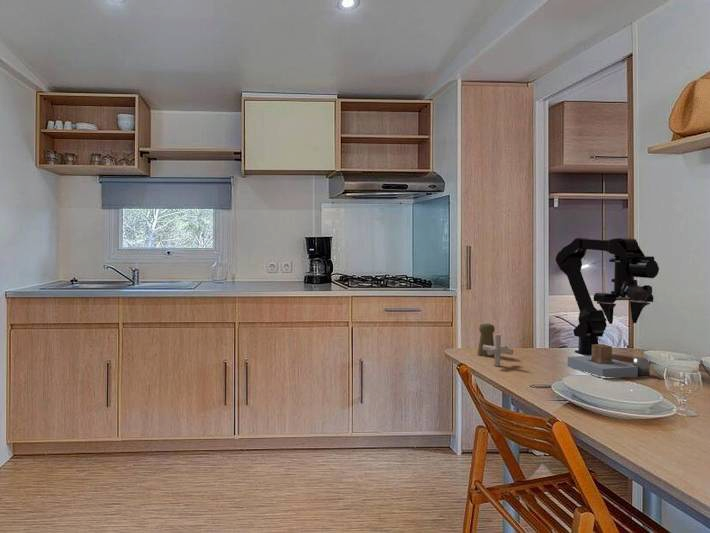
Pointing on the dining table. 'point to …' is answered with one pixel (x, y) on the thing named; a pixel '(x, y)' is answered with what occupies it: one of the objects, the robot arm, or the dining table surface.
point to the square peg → (601, 354)
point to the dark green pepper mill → (486, 338)
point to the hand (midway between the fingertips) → (622, 323)
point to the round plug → (642, 366)
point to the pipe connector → (497, 350)
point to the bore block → (603, 367)
